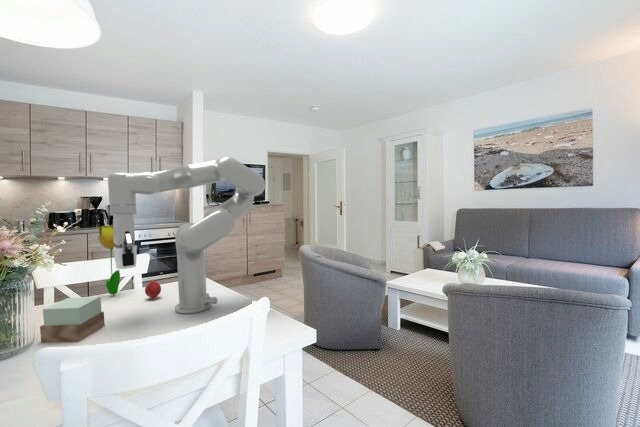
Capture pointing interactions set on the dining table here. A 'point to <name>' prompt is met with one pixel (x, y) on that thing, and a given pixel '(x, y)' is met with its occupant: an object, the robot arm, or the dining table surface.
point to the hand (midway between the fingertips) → (126, 263)
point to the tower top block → (72, 311)
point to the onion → (153, 289)
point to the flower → (108, 243)
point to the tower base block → (72, 330)
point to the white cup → (118, 257)
